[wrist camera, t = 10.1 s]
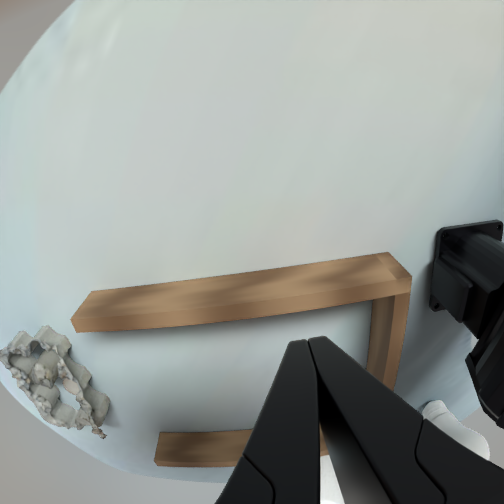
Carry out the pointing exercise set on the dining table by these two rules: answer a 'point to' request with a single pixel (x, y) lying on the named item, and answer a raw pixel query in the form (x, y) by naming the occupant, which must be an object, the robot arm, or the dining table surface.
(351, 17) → the dining table surface
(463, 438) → the lightbulb
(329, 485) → the roll
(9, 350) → the egg carton
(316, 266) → the open wooden frame
